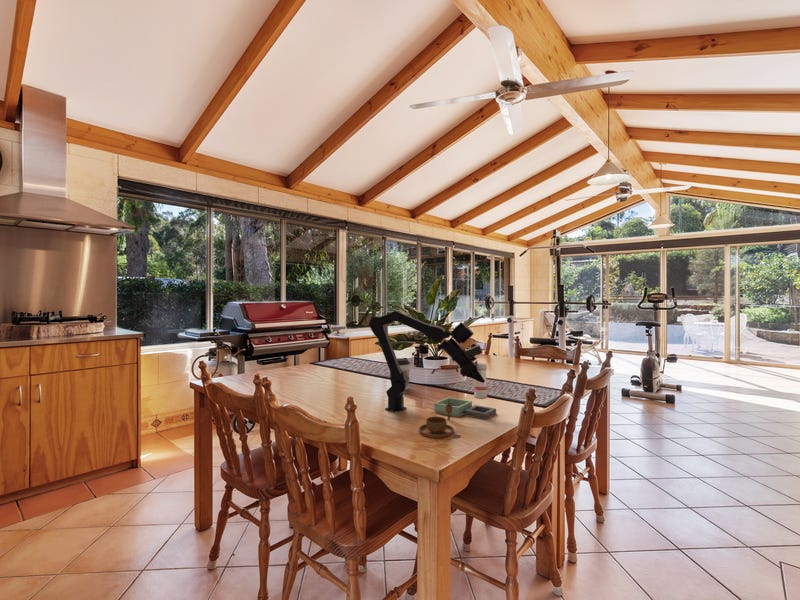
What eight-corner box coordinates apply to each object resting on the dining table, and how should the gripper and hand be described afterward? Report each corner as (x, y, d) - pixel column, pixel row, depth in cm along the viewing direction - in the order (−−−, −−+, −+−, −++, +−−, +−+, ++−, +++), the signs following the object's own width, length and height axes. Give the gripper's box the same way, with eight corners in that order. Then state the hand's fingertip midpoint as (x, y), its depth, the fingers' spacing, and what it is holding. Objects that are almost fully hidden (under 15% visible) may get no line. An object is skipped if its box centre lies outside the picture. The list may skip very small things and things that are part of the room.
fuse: (483, 399, 153) (483, 365, 153) (472, 397, 156) (472, 364, 156) (488, 397, 157) (488, 364, 157) (477, 395, 160) (477, 362, 160)
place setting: (406, 430, 141) (406, 413, 141) (448, 419, 153) (448, 403, 153) (440, 445, 127) (440, 426, 127) (483, 431, 139) (483, 414, 139)
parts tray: (458, 416, 154) (458, 407, 154) (434, 411, 161) (434, 403, 161) (471, 410, 163) (471, 401, 163) (448, 405, 169) (448, 397, 169)
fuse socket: (486, 419, 150) (486, 414, 150) (464, 415, 156) (464, 410, 156) (496, 413, 157) (496, 408, 157) (475, 409, 163) (475, 404, 163)
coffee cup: (399, 391, 194) (399, 360, 194) (388, 388, 201) (388, 358, 201) (413, 388, 200) (413, 358, 199) (402, 385, 207) (402, 356, 206)
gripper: (469, 340, 148) (500, 371, 146) (471, 335, 166) (498, 362, 164) (447, 361, 150) (477, 391, 147) (452, 353, 168) (478, 381, 166)
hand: (484, 380), depth 156 cm, fingers closed on fuse, 4 cm apart
